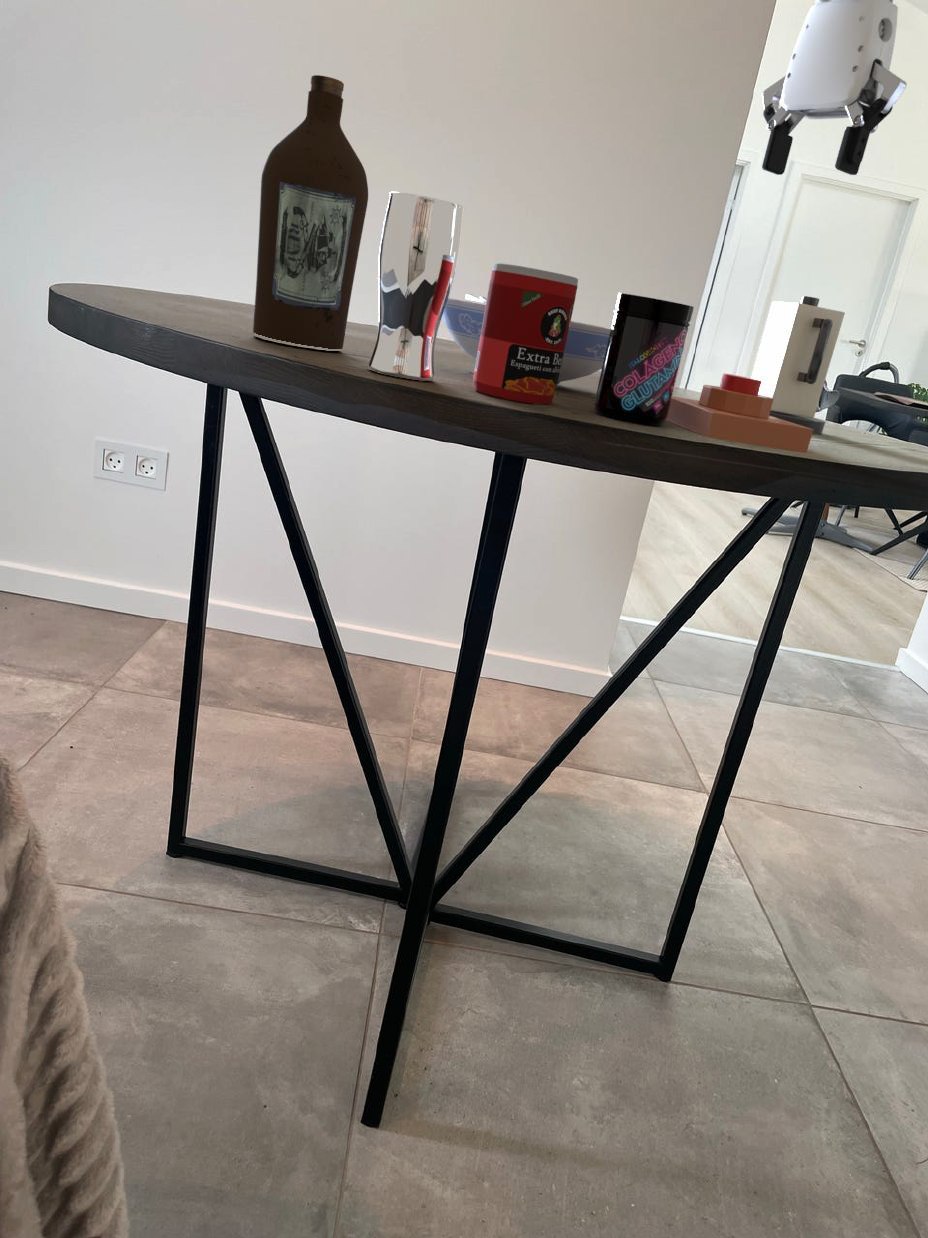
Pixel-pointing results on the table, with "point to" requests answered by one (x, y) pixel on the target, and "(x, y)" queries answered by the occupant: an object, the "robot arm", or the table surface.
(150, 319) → the table surface
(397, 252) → the beer glass
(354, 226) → the olive oil
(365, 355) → the table surface
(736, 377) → the button
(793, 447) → the switch block
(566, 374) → the ramen bowl
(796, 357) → the kettle
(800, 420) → the kettle base
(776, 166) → the robot arm
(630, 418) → the supplement container
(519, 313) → the canned food
